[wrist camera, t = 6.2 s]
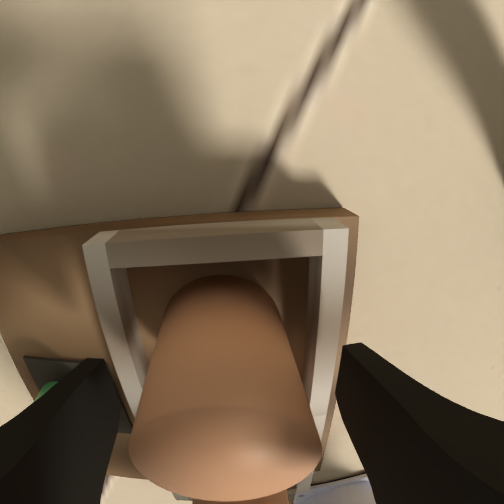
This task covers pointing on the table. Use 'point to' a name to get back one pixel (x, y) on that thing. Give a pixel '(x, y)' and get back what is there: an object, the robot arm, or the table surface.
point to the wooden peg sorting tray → (161, 292)
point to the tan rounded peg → (223, 398)
